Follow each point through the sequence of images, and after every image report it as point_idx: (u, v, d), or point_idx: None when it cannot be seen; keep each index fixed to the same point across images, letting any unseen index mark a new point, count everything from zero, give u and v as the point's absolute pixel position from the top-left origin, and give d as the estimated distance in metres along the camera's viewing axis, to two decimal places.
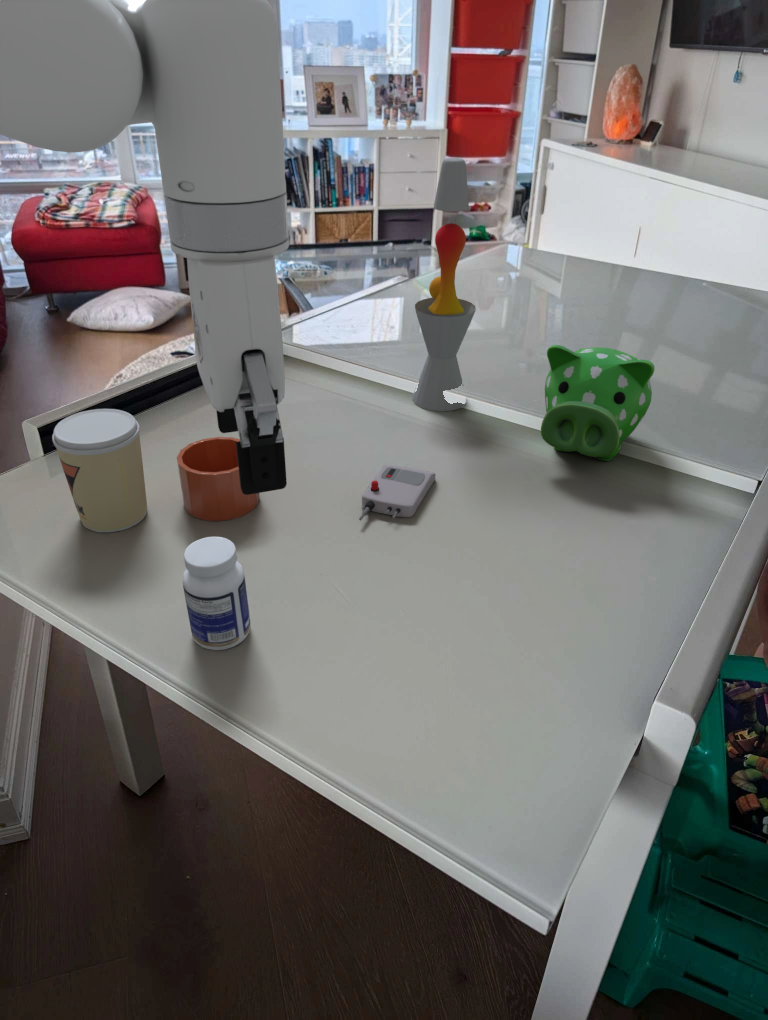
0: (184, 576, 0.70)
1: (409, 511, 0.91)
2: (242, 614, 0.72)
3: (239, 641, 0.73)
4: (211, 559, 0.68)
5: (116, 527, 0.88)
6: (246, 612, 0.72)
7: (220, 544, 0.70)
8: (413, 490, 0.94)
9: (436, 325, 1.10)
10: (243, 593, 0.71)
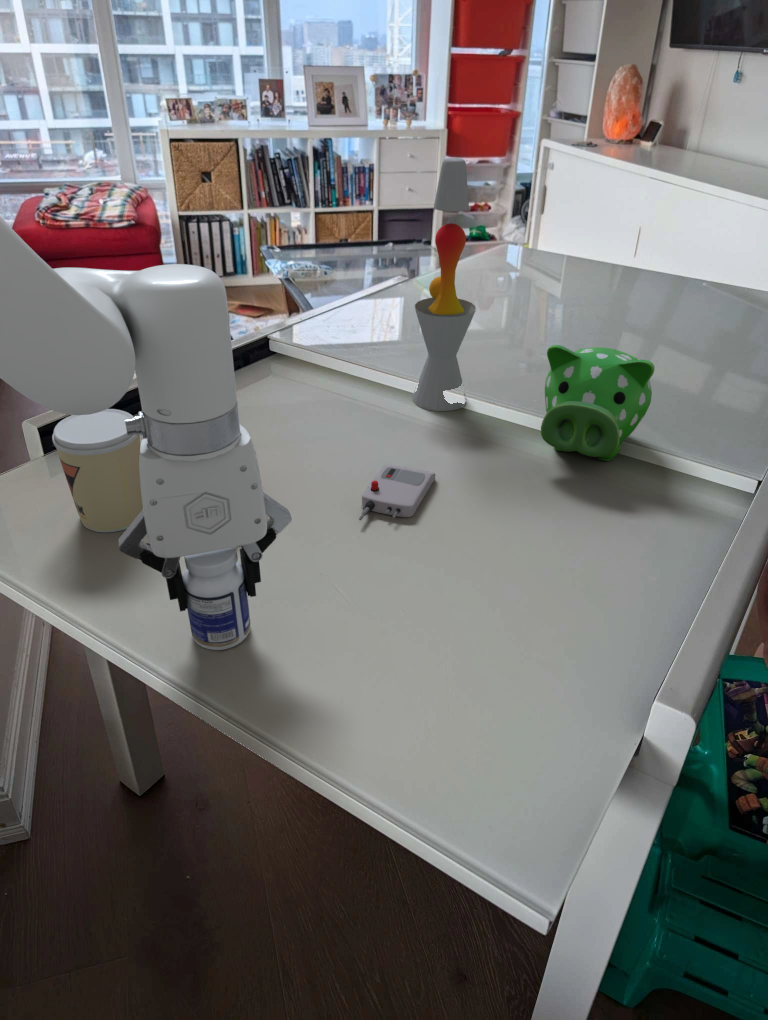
0: (184, 576, 0.70)
1: (409, 511, 0.91)
2: (242, 614, 0.72)
3: (239, 641, 0.73)
4: (211, 559, 0.68)
5: (116, 527, 0.88)
6: (246, 612, 0.72)
7: None
8: (413, 490, 0.94)
9: (436, 325, 1.10)
10: (243, 593, 0.71)
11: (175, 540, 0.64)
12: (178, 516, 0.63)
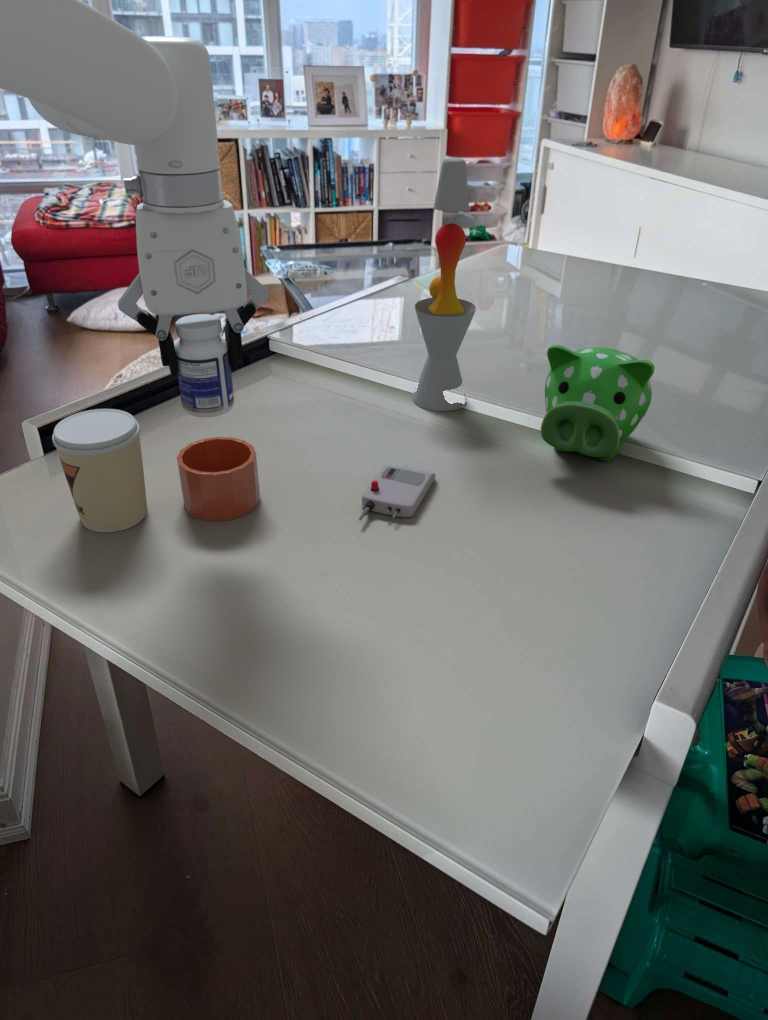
0: (175, 345, 0.80)
1: (409, 511, 0.91)
2: (226, 383, 0.82)
3: (223, 411, 0.83)
4: (199, 325, 0.78)
5: (116, 527, 0.88)
6: (230, 384, 0.82)
7: (207, 318, 0.80)
8: (413, 490, 0.94)
9: (436, 325, 1.10)
10: (227, 363, 0.81)
11: (167, 296, 0.74)
12: (169, 271, 0.73)
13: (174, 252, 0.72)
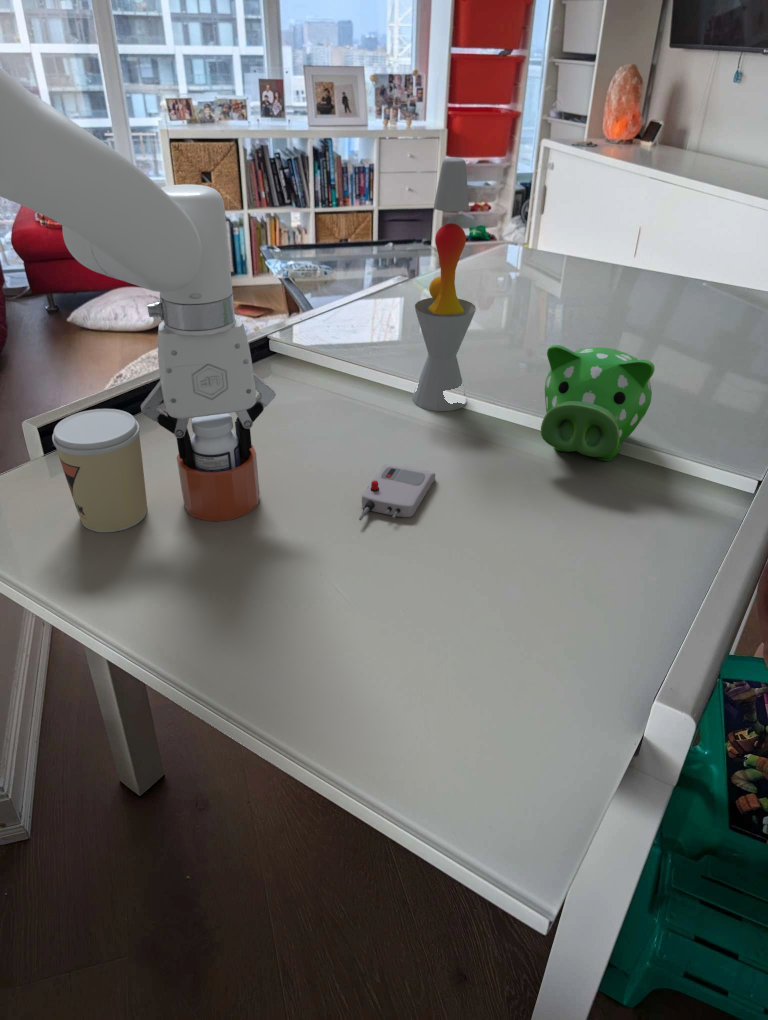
0: (191, 440, 0.89)
1: (409, 511, 0.91)
2: None
3: None
4: (213, 424, 0.87)
5: (116, 527, 0.88)
6: None
7: (220, 415, 0.89)
8: (413, 490, 0.94)
9: (436, 325, 1.10)
10: (237, 455, 0.90)
11: (185, 403, 0.83)
12: (187, 382, 0.82)
13: (192, 366, 0.81)
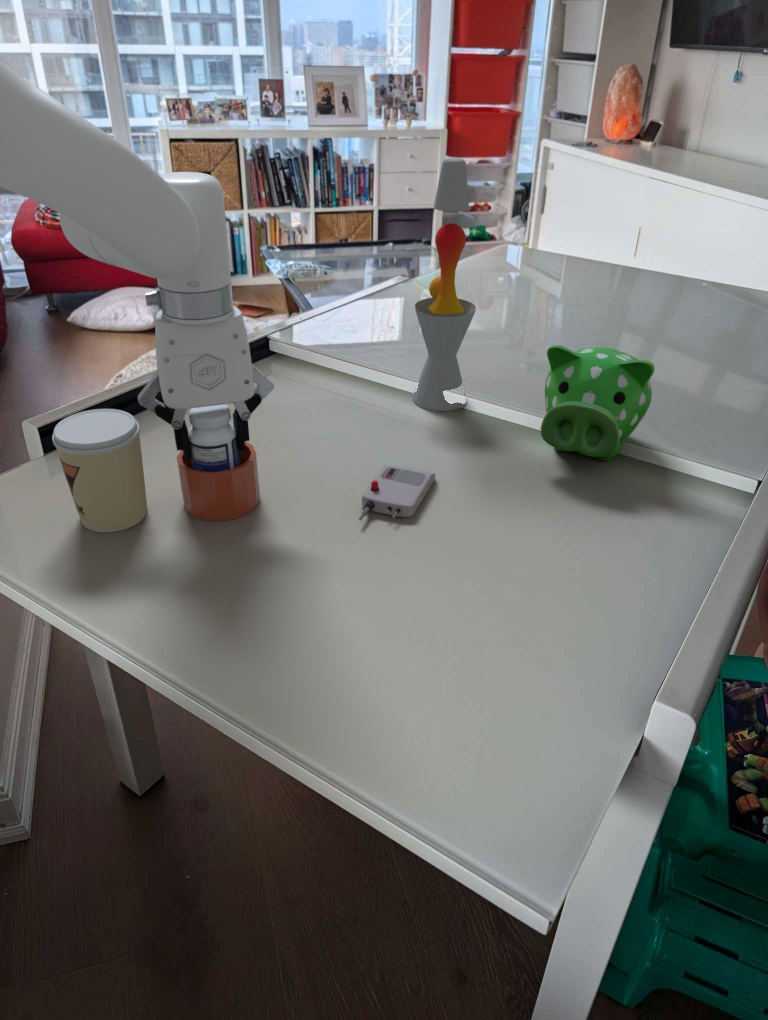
0: (189, 431, 0.88)
1: (409, 511, 0.91)
2: (234, 465, 0.90)
3: None
4: (210, 415, 0.86)
5: (116, 527, 0.88)
6: (238, 465, 0.91)
7: (218, 407, 0.88)
8: (413, 490, 0.94)
9: (436, 325, 1.10)
10: (235, 447, 0.89)
11: (182, 393, 0.82)
12: (185, 372, 0.81)
13: (189, 356, 0.81)
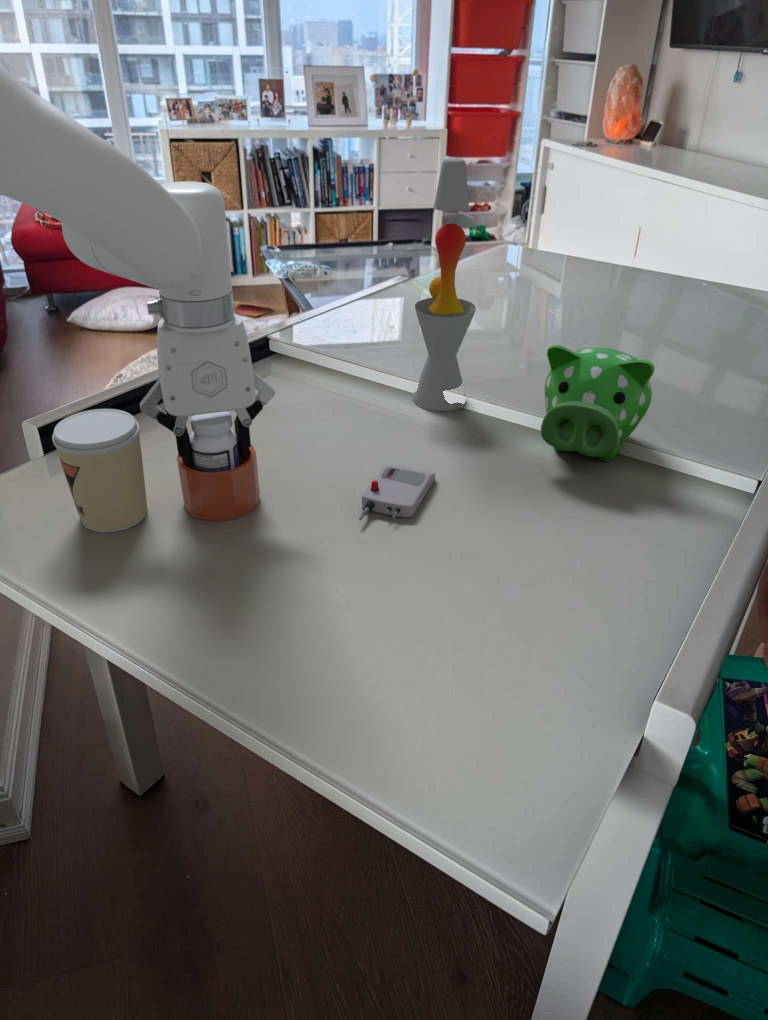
0: (190, 438, 0.89)
1: (409, 511, 0.91)
2: None
3: None
4: (212, 422, 0.87)
5: (116, 527, 0.88)
6: None
7: (219, 413, 0.89)
8: (413, 490, 0.94)
9: (436, 325, 1.10)
10: (237, 453, 0.90)
11: (184, 400, 0.83)
12: (186, 380, 0.82)
13: (191, 364, 0.81)
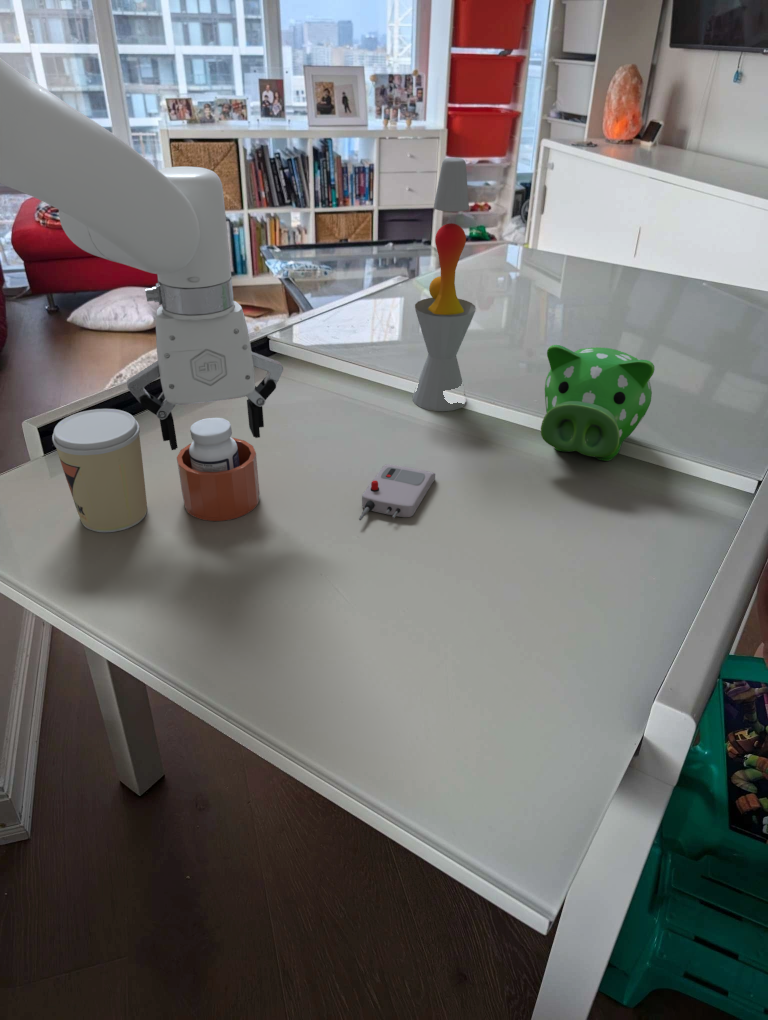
0: (190, 447, 0.89)
1: (409, 511, 0.91)
2: None
3: None
4: (211, 431, 0.88)
5: (116, 527, 0.88)
6: None
7: (219, 422, 0.89)
8: (413, 490, 0.94)
9: (436, 325, 1.10)
10: (236, 461, 0.90)
11: (183, 389, 0.82)
12: (186, 368, 0.81)
13: (190, 352, 0.80)
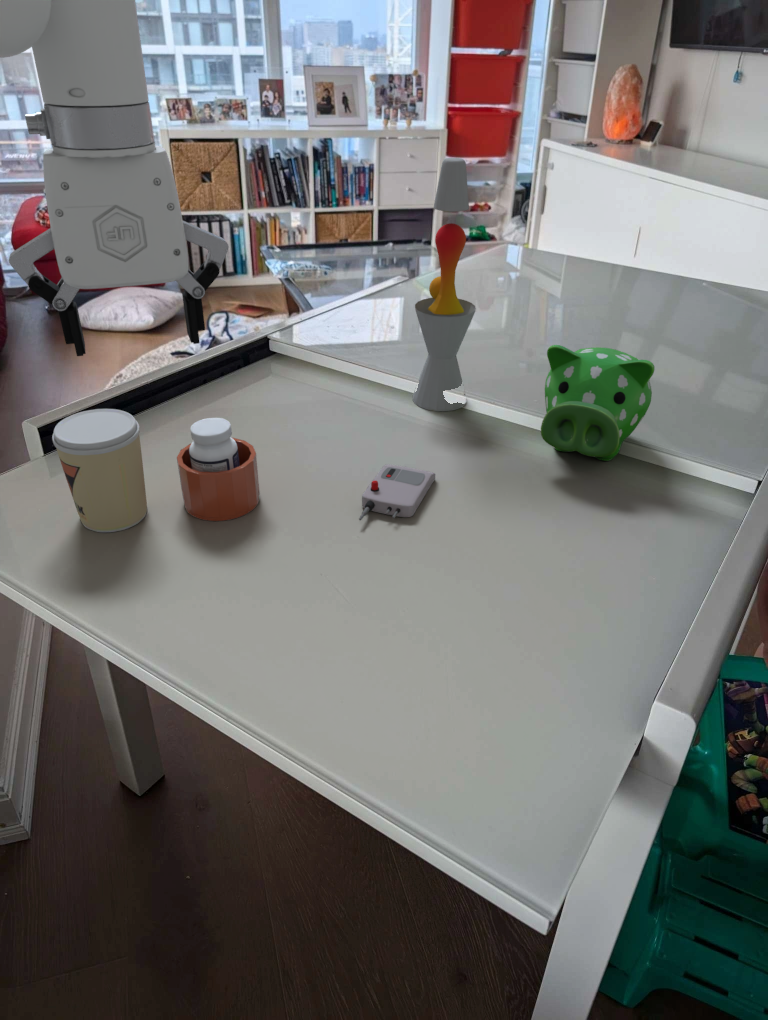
0: (190, 447, 0.89)
1: (409, 511, 0.91)
2: None
3: None
4: (211, 431, 0.88)
5: (116, 527, 0.88)
6: None
7: (219, 422, 0.89)
8: (413, 490, 0.94)
9: (436, 325, 1.10)
10: (236, 461, 0.90)
11: (86, 264, 0.60)
12: (87, 233, 0.59)
13: (92, 208, 0.58)
